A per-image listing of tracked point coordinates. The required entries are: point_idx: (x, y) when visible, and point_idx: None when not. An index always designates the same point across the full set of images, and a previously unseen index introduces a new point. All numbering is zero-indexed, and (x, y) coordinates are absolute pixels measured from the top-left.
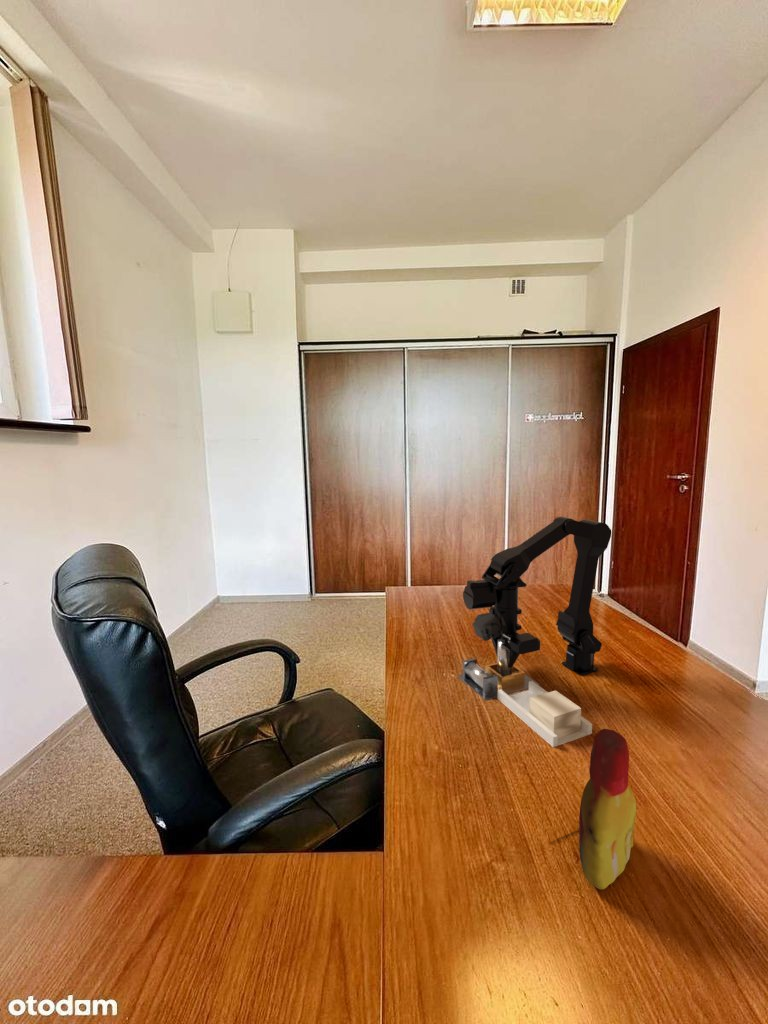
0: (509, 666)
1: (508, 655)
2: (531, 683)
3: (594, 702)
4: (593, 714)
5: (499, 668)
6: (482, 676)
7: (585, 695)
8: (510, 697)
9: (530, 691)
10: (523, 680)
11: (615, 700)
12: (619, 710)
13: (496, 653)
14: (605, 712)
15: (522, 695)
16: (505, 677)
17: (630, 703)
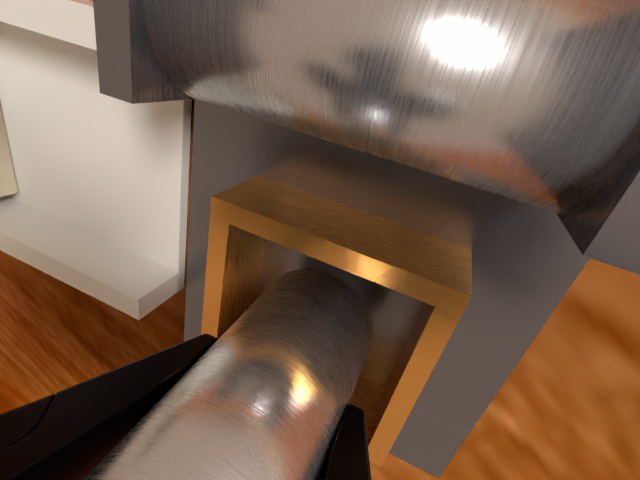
0: (192, 340)
1: (36, 418)
2: (120, 293)
3: (55, 352)
4: (7, 285)
5: (297, 303)
6: None
7: (90, 376)
8: (30, 26)
9: (165, 267)
10: None
11: (50, 394)
12: (13, 352)
13: (360, 476)
14: (10, 319)
15: (152, 200)
16: (210, 230)
17: (33, 399)
